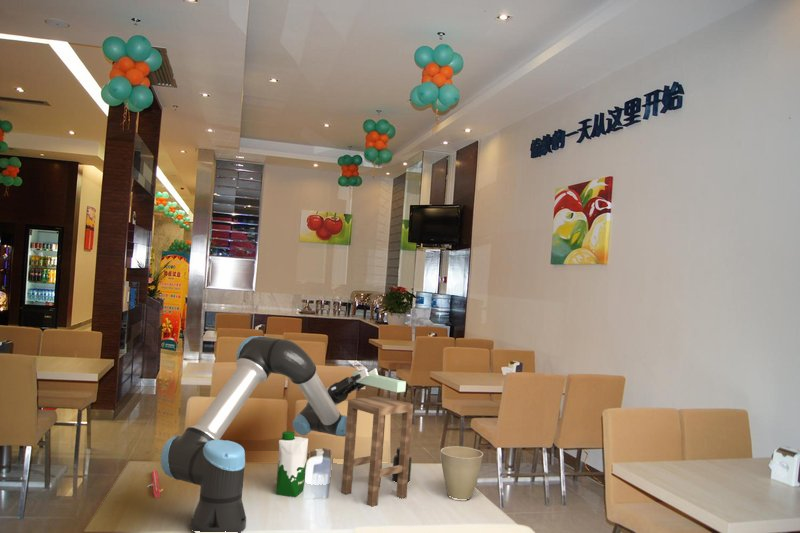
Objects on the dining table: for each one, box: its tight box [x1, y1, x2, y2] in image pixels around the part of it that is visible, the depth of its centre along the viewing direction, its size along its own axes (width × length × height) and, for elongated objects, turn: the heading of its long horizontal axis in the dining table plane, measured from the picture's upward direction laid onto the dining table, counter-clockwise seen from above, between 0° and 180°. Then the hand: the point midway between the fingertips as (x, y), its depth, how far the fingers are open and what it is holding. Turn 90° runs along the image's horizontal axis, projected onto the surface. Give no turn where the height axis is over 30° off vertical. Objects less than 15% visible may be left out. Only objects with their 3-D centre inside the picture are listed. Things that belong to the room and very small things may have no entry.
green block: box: [352, 370, 407, 393], centre depth 218 cm, size 24×4×4 cm, turn 44°
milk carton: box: [275, 430, 309, 498], centre depth 206 cm, size 9×9×20 cm
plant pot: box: [440, 446, 484, 499], centre depth 214 cm, size 15×15×16 cm
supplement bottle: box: [391, 446, 413, 483], centre depth 227 cm, size 7×7×12 cm
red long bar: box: [146, 469, 164, 498], centre depth 204 cm, size 24×2×5 cm
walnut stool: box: [340, 395, 414, 508], centre depth 210 cm, size 16×16×32 cm
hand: (371, 372), depth 221 cm, fingers closed on green block, 4 cm apart
